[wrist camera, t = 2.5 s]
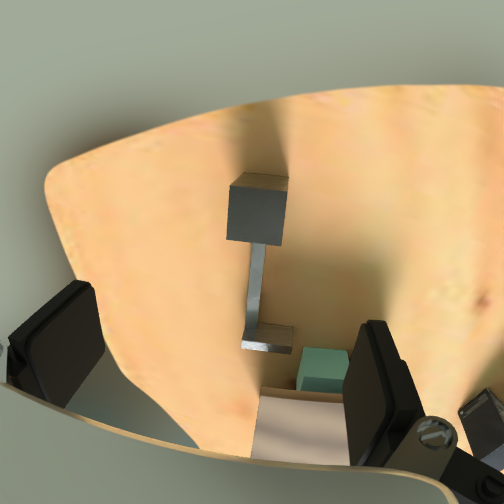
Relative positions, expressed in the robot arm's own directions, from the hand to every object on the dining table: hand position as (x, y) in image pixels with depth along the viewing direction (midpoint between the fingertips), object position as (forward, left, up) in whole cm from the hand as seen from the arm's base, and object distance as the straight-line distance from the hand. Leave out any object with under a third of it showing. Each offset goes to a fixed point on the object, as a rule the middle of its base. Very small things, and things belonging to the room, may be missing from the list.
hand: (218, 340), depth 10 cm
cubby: (+19, +8, -21) cm, 30 cm away
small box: (+27, +38, -21) cm, 51 cm away
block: (+18, +8, -21) cm, 29 cm away
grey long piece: (+6, +1, -21) cm, 21 cm away
